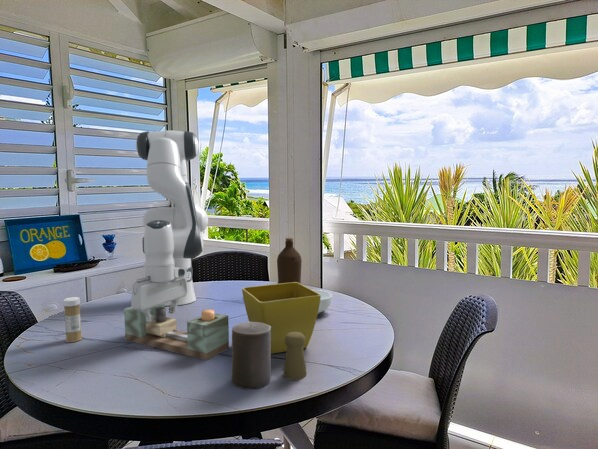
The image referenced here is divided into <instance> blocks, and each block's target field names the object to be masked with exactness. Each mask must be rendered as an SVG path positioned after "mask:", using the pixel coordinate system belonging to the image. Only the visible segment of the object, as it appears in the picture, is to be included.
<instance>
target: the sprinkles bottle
mask: <svg viewBox="0 0 598 449" xmlns="http://www.w3.org/2000/svg"><path fill="white" fill-rule="evenodd" d="M62 303H63V306H64V307H63V308H64V310H63V311H64V326H65V327H64V328H65V337H66V339H65V341H66V342H67V343H76V342H79V341H81V340H83V335H82V319H81V308H80V306H81V305H80V304H81V300H80V297H76V296H73V297H72V296H71V297H67V298H64V299H63V301H62Z"/></svg>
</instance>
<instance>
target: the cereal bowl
mask: <svg viewBox="0 0 598 449" xmlns="http://www.w3.org/2000/svg"><path fill="white" fill-rule="evenodd" d="M312 290H313V291H315V292H317V293H319V294H320V295H321V298H320V304H319V310H318V315H319V314H320V313H323V312H324V311H326V310H327V309H329V307H330V306H331V304H332V299H333V298H332V293H330V292H329V291H325V290H320V289H312Z"/></svg>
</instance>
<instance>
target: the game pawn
mask: <svg viewBox="0 0 598 449" xmlns="http://www.w3.org/2000/svg"><path fill="white" fill-rule="evenodd" d="M304 343H305V336H304V335H303V334H302V333H300V332H290V333H288V334H287V335H286V337H285V344H286V345H287V351H285V361H284V369H283V377H284V378H286V379H287V380H292V381H293V380H295V381H296V380H301V379H304V378H306V377H307V367H306V365H307V364H306V360H305V350H304V348H303V345H304Z"/></svg>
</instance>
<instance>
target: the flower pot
mask: <svg viewBox="0 0 598 449" xmlns="http://www.w3.org/2000/svg"><path fill="white" fill-rule="evenodd" d="M241 290H242V298H243V303H244V307H245V312H246V316H247V319H248V322H259V323H264V324H267V325H269V326H271V354H278V353H284V352H285V353H286V351H287V345H286V344H285V337H286V335H287V334H288V333H290V332H300V333H302V334H303V335H304V336H305V343H304V345H303V349H307V348H308V346H309V343H310V342H311V338H312V335H313V333H314V329H315V326H316V322H317V319H318V315H319V314H318V310H319V304H320V298H321V295H320V294H319V293H317V292H315V291H313V290H314V289H311V288H309V287H307V286H305V285H303V284H300V283H297V282H292V283H282V284H278V283H273V284H262V285H257V286H255V285H254V286H245V287H242V288H241Z"/></svg>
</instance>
